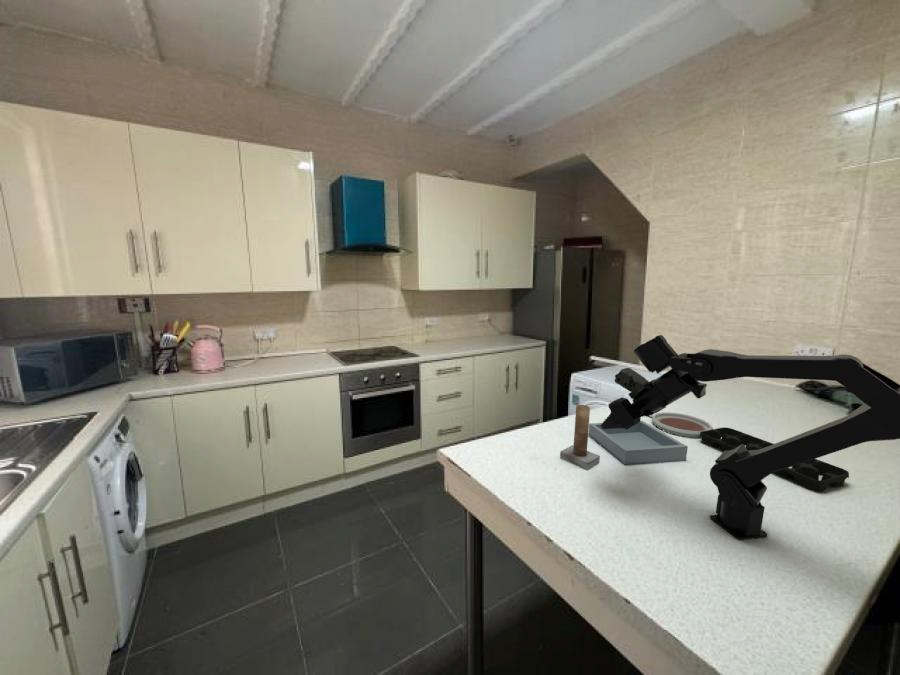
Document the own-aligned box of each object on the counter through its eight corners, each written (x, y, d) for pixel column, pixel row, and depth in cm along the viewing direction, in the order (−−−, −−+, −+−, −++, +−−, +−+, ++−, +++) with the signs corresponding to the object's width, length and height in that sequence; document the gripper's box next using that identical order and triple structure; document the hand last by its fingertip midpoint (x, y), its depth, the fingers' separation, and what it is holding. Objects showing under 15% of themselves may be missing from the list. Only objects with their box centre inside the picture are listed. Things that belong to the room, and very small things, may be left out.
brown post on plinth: (599, 462, 94) (603, 408, 92) (587, 470, 91) (591, 414, 88) (572, 451, 101) (575, 400, 98) (559, 458, 97) (563, 405, 94)
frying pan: (642, 400, 138) (724, 424, 114) (641, 407, 139) (723, 433, 114) (612, 407, 130) (694, 435, 106) (612, 415, 131) (693, 444, 106)
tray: (685, 460, 96) (687, 446, 95) (624, 465, 93) (625, 450, 93) (641, 432, 113) (642, 420, 113) (588, 435, 111) (589, 423, 110)
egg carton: (833, 501, 79) (836, 486, 78) (687, 447, 104) (688, 435, 104) (855, 479, 88) (858, 465, 87) (715, 434, 113) (717, 423, 113)
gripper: (657, 354, 87) (609, 387, 97) (621, 365, 75) (571, 401, 85) (690, 393, 82) (636, 424, 92) (657, 411, 70) (600, 444, 80)
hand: (611, 422), depth 88 cm, fingers open, 9 cm apart
